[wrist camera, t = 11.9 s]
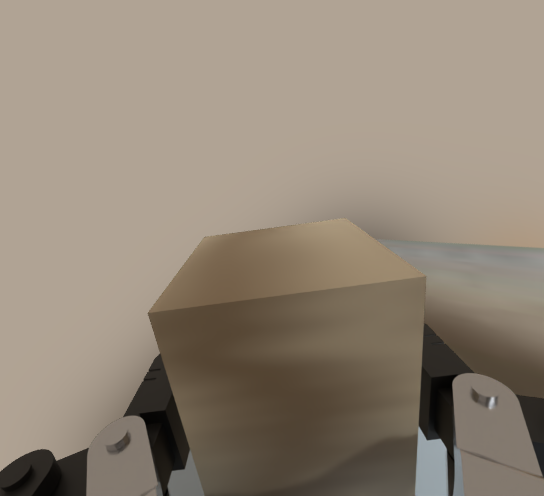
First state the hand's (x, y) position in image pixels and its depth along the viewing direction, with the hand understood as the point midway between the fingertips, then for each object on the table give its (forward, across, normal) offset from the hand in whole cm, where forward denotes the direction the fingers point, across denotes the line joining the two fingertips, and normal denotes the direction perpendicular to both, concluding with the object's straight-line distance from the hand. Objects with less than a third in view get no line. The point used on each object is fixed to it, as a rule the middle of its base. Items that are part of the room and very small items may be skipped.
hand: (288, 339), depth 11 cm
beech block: (-2, 0, +8) cm, 8 cm away
